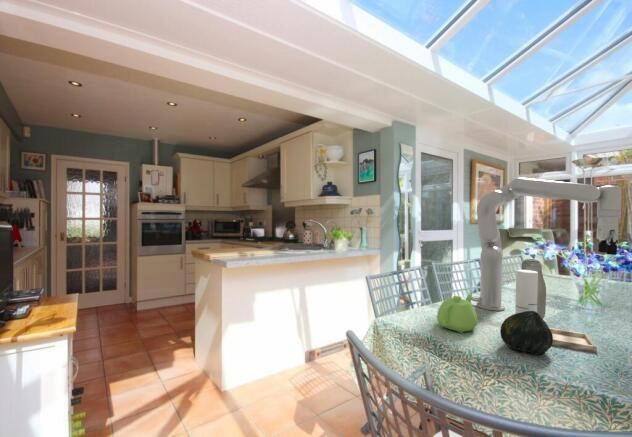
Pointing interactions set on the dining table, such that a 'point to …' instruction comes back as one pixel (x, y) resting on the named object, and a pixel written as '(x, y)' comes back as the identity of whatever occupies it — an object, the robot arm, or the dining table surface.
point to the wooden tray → (573, 340)
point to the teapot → (457, 314)
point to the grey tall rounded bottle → (541, 292)
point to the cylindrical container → (526, 291)
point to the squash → (527, 332)
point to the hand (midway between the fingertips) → (607, 253)
